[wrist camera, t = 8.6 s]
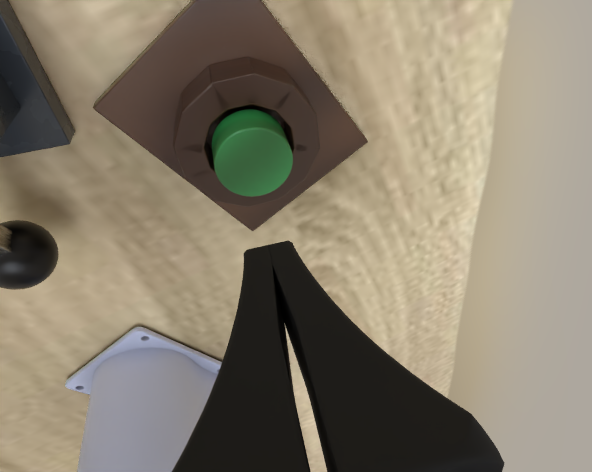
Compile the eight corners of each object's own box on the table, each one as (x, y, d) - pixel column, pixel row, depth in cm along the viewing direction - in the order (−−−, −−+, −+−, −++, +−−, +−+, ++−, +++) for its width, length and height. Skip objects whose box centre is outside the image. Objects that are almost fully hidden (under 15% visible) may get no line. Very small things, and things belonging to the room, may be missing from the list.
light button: (299, 144, 18) (308, 164, 17) (246, 187, 19) (251, 209, 18) (251, 92, 16) (257, 110, 15) (195, 143, 17) (196, 165, 16)
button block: (364, 136, 21) (382, 162, 19) (251, 225, 24) (257, 255, 22) (230, -41, 15) (237, -29, 13) (94, 102, 17) (84, 130, 16)
